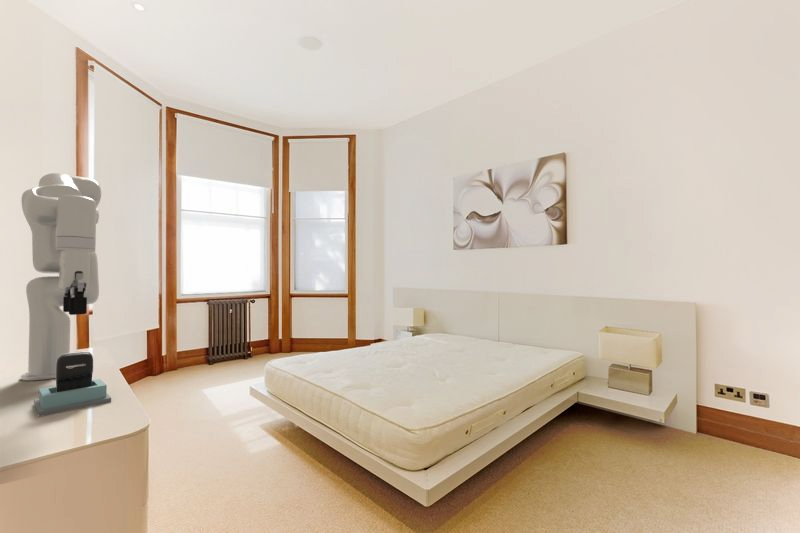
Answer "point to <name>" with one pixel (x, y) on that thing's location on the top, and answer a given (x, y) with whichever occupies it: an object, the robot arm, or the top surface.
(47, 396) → the dock
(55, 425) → the top surface
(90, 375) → the battery charger
